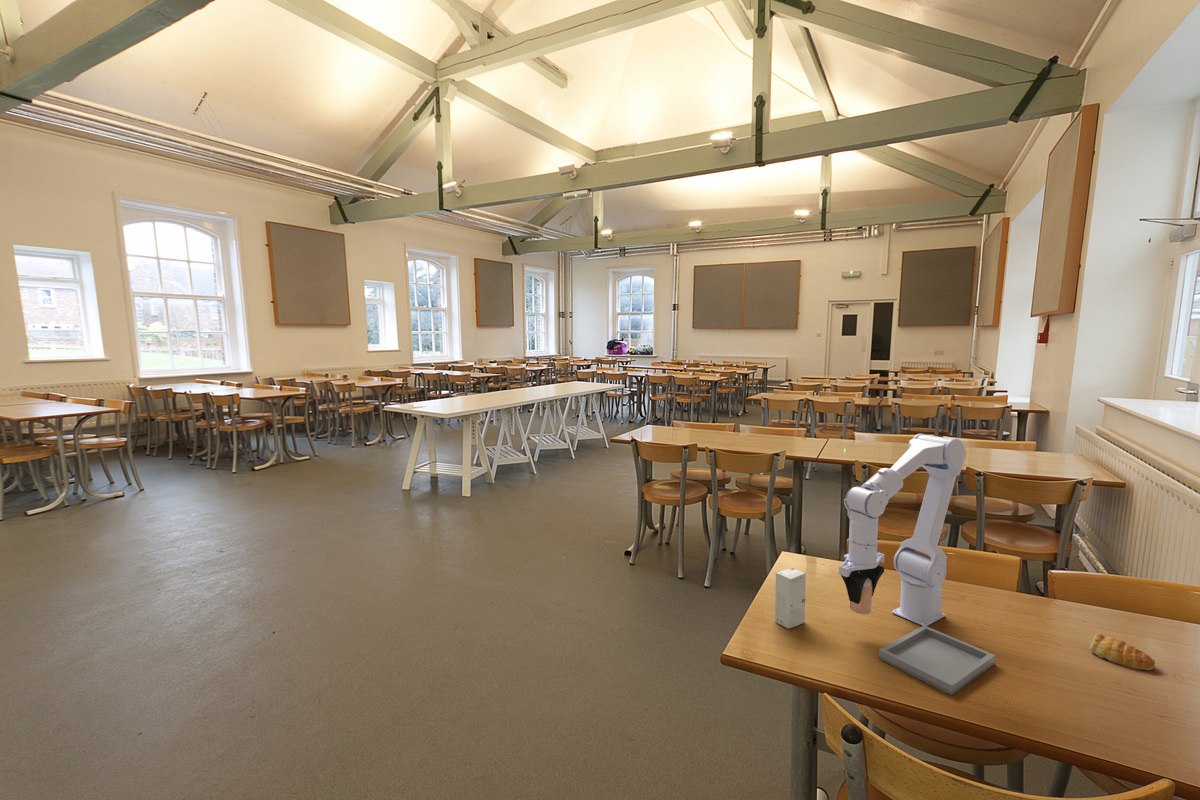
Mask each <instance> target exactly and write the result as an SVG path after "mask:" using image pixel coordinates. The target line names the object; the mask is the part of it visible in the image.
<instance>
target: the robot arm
mask: <svg viewBox="0 0 1200 800" xmlns="http://www.w3.org/2000/svg"><path fill="white" fill-rule="evenodd" d="M966 454H967V451H966V448H965V446H964V443H963V442H962V441H961V440H960V439H958V438H949V437H942V436H936V435H929V434H925V433H922V432H921V433H917V434H916V435H914V436H913V437H912V439H910V440H909V441H908V449H907V450H906V451H905V452H904V453H903V454H902V455H901V456H900V457H899V458H898V460H897V461H896V462H894V464H893V465H892V466H891V467H890V468H889V467H883V468H879V469H878V470H877V472H876V473H874V474H873V475H872V476H870V478H869V479H868V480H866V481H865V482H864V483H863V484H862V485H861V486H855V487H854V486H853V487H851V488H850V489H849V490H848V491H847V493H846V494H845V498H844V499H843V504H844V507H845V508H846V510H847V517H848V519H849V527H848V528H849V529H848V532H849V535H848V553H846V554H844V555H843V558H844V559H845V560H844V561H843V563H842V564H840V565H838V575H840V577H841V578H842V580H843V582H844V585H845V588H846V591H847V596H848V599H849V602H850V601H852V602H854V603H856V604H859V603H860V600H861V595H862V589H863V586H864V583H865V581H866V579H867V578H869V579H870V580H871V584H872V597H873V596H874V593H875V590H876V587H877V584H878V582H879V580H880V579H881V577H882V575H883V574H884V573H885V567H883V566H882V565H879V564H883V563H885V557H886V555H885V554H884V553H882V552H880V551H879V552H878V535H879V533H878V532H879V517H880V516H882V514H884V512H885V509H886V506H887V505H888V504H889V500H890V499H891V498H892V497H893V496H895V495H896V493H898V492H899V491H900V490H901V489H902V488H903V487H904V480H905V479H906V478H907V477H908V476H910V475H911V474H912V473H914V472H915V471H917V470H918V469H920V468H921V467H922V468H923V469H925V470H926V472H927V473H928V475H929V477H928V480H927V484H926V488H925V491H924V496H923V499H922V503H921V505H920V509H919V510H920V511H919V513H918V517H917V520H916V524H915V528H914V532H913V536H911V537H910V538H907V539H905V540H903V541H901V543H900V546H899V548H898V550H897V551H896V553H895V554H894V556H893V567H894V569H895V570H896V572H898V576H899V577H900V579H901V580H900V581H901V582H900V598H899V600H900V601H899V603H900V604H899V607H897V608H895V609H893V610H892V611H891V613H892V614H895V615H896V616H899V617H900V618H904V619H905V620H906V619H907V620H908V621H910V622H912V623H913V622H914V624H918V625H921V626H923V625H925V626H927V627H929V626H930V625H931V624H933V623H935V622H937V621H938V620H940V619H942V618H944V617H946V614H945V613H944V612H942V605H943V604H942V602H943V587H942V585H941V584H942V583H943V582H944V580H945V579H946V576H947V562H948V561H947V560H948V556H947V555H946V554H945V552H944V551H943V549H941V547H940V546H939V541H940V538H941V535H942V530H943V527H944V522H945V519H946V517H947V516H946V515H947V512H948V508H949V504H950V501H951V497H952V495H953V494H952V493H953V490H954V485H955V483H956V478H957V477H958V476H960V475H961V472H962V469H963V465H964V462H965V457H966ZM923 553H924V554H923Z"/></svg>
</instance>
